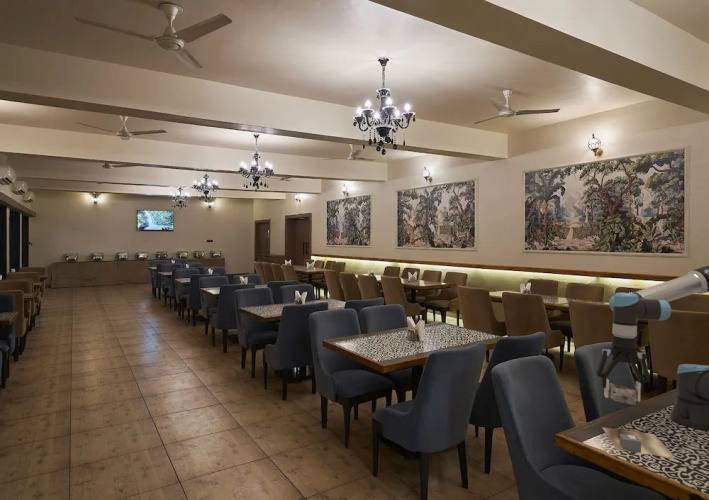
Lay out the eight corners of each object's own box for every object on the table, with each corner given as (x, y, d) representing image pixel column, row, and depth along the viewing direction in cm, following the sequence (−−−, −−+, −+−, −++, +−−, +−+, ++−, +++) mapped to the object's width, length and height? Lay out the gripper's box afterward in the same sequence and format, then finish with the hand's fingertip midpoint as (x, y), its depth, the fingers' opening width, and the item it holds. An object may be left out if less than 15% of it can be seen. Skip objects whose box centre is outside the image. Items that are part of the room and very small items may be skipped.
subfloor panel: (654, 436, 162) (654, 434, 162) (676, 460, 143) (676, 458, 143) (602, 429, 167) (602, 427, 167) (616, 451, 148) (616, 449, 148)
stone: (606, 382, 168) (637, 387, 163) (605, 398, 167) (636, 404, 162) (604, 382, 158) (637, 388, 152) (603, 399, 157) (637, 406, 151)
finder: (635, 446, 151) (636, 435, 151) (640, 452, 146) (641, 440, 146) (619, 443, 153) (619, 432, 153) (623, 449, 148) (624, 438, 148)
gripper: (655, 337, 160) (653, 399, 160) (588, 331, 166) (585, 391, 166) (663, 340, 153) (661, 406, 153) (592, 335, 159) (590, 397, 159)
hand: (621, 398), depth 160 cm, fingers closed on stone, 9 cm apart
